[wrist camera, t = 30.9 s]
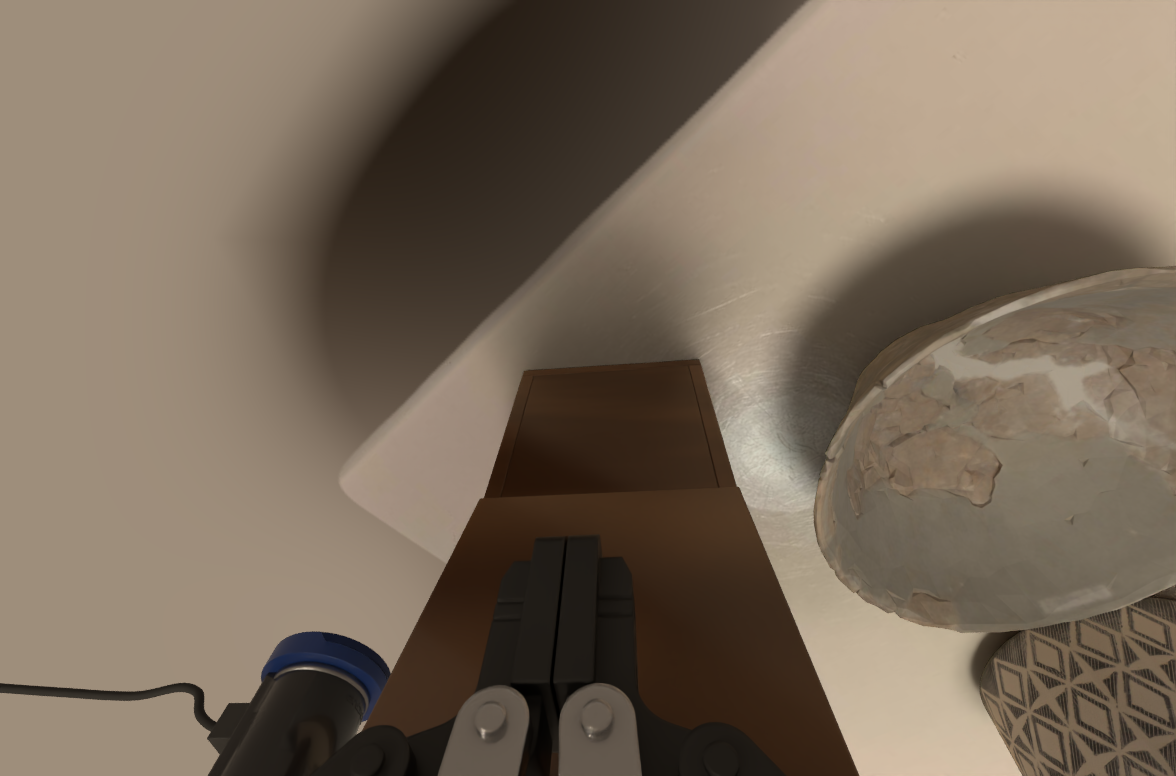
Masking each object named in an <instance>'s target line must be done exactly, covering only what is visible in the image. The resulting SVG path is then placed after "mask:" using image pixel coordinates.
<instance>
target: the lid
mask: <svg viewBox="0 0 1176 776" xmlns="http://www.w3.org/2000/svg"><path fill="white" fill-rule="evenodd" d="M591 534H599V535H600V540H601V548H602V556H603V557H623V559H624V561H625V562H626V564H627V566H628V568H629V570H630V571H631V573H632V580H633V592H634V603H635V614H636V636H637V661H638V686H639V695H640V697H641V699H642V701H643V702H644V704H645V705H646V706H647V707H648V708H649V710H650V711H652V712H653V713H654V714H655V715H657V716H658V717H660V718H661V719H663V720H666V721H668V722H670V723H673V724H676V725H679V726H682V727H685V728H688V729H691V730H693V729H694V728H695V727H697V726H699V725H701V724H704V723H708V722H722V723H726V724H730V725H732V726H734V727H736V728H738V729H739V730H741V731H742V732H744V733H745V734H746V735H747V736H748V737H749V738H750V739H751V740H752V741H753V742H754V743H755V744H756V745H757V746H758V747H759V748H760V749H761V750H762V751H763V752H764V753H765V754H766V755H767V756H768V757H769V758H770V759H771V760H772V761H773V762H774V763H775V764H776V765H777V766H778V767H779V768H780V769H781V771H782V772H783V773H784V774H785V775H786V776H859V774H858V771H857V769H856V767H855V764H854V762H853V759H852V757H851V755H850V752H849V750H848V747H847V745H846V743H845V740H844V738H843V735H842V733H841V731H840V728H839V726H838V723H837V721H836V719H835V716H834V714H833V711H832V709H831V707H830V704H829V702H828V699H827V697H826V695H825V692H824V690H823V687H822V685H821V683H820V680H819V678H818V675H817V673H816V671H815V668H814V666H813V663H812V661H811V659H810V656H809V654H808V651H807V649H806V647H805V644H804V642H803V639H802V637H801V635H800V632H799V630H798V627H797V625H796V623H795V620H794V618H793V615H792V613H791V611H790V608H789V606H788V603H787V601H786V599H785V596H784V594H783V591H782V589H781V587H780V584H779V582H778V579H777V577H776V575H775V572H774V570H773V567H772V565H771V563H770V560H769V558H768V555H767V553H766V551H765V548H764V546H763V543H762V541H761V539H760V536H759V534H758V531H757V529H756V527H755V524H754V522H753V519H752V517H751V515H750V512H749V510H748V507H747V505H746V503H745V500H744V498H743V495H742V493H741V491H740V488H739V487H725V488H703V489H681V490H659V491H637V492H614V493H592V494H570V495H548V496H526V497H503V498H481V499H480V500H479V502H478V504H477V506H476V508H475V510H474V512H473V514H472V516H471V518H470V519H469V521H468V523H467V525H466V527H465V529H464V531H463V533H462V535H461V537H460V539H459V541H458V543H457V545H456V547H455V549H454V551H453V553H452V555H451V557H450V559H449V561H448V563H447V565H446V567H445V569H444V571H443V573H442V575H441V577H440V579H439V580H438V582H437V585H436V586H435V588H434V591H433V592H432V594H431V596H430V598H429V600H428V602H427V604H426V606H425V608H424V610H423V612H422V614H421V616H420V618H419V620H418V622H417V624H416V626H415V628H414V630H413V632H412V634H411V636H410V638H409V639H408V642H407V643H406V645H405V648H404V649H403V652H402V653H401V655H400V657H399V659H398V661H397V663H396V665H395V667H394V669H393V671H392V673H391V675H390V677H389V679H388V681H387V683H386V685H385V687H384V689H383V691H382V693H381V695H380V697H379V699H378V700H377V702H376V704H375V706H374V708H373V710H372V712H371V714H370V716H369V718H368V720H367V722H366V724H365V726H364V728H363V730H365V729H368V728H370V727H373V726H377V725H390V726H394V727H396V728H398V729H400V730H401V731H402V732H403V733H404V735H405V736H406V737H408V736H411V735H414V734H416V733H419V732H422V731H425V730H428V729H430V728H433V727H436V726H438V725H441V724H443V723H445V722H447V721H449V720H450V719H452V718H453V717H454V716H456V715H457V714H458V712H459V710H460V709H461V707H462V706H463V704H464V703H465V702H466V701H467V700H468V699H469V698H470V697H471V696H472V695H473V694H474V692H475V690H476V687H477V684H478V680H479V676H480V671H481V667H482V662H483V658H484V653H485V649H486V645H487V640H488V636H489V631H490V627H491V623H492V621H493V614H494V609H495V605H496V604H497V596H498V592H499V587H500V583H501V579H502V578H503V576H504V575H505V573H506V572H507V570H508V569H509V568H510V566H511V565H512V563H513V562H514V561H528V560H531V558H532V553H533V547H534V542H535V539H536V537H550V536H567V537H568V536H569V535H591ZM363 730H362V731H363ZM558 763H559V753H552V756H551V767H550V776H558Z"/></svg>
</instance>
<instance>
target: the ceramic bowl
mask: <svg viewBox="0 0 1176 776" xmlns="http://www.w3.org/2000/svg"><path fill="white" fill-rule="evenodd" d="M825 454H826V456H827V457H826V460H825V463H824V465H823V467H822V470H821V472H820V478H819V481H818V488H817V493H816V498H815V505H814V526H815V531H816V537H817V542H818V545H819V547H820V549H821V552H822V553H823V555H824V557H825V559H826V560H827V562H828V564H829V566H830V568H832V569H833V570H835V574H836V576H837V577H838V579H839V580H840V581H841V582H842V583H843V584H844V585H845V586H847V587H848V588H849V589H850V590H851V591H852V592H853V593H855V592H856V593H857V594H858V595H859V596H860V597H861V598H862V599H863V600H865V601H866V602H868V603H870V604H873V605H875V606H877V607H879V608H880V609H882V610H884V611H885V612H887V613H891V612H895V613H896V614H897V615H898V616H899V617H900V618H903V619H905V620H908V621H911V622H914V623H916V624H919V625H922V626H929V627H938V628H944V629H950V630H954V631H957V632H961V633H972V632H1007V631H1015V630H1027V629H1033V628H1039V627H1045V626H1049V625H1054V624H1058V623H1063V622H1070V621H1078V620H1082V619H1085V618H1089V617H1092V616H1095V615H1099V614H1102V613H1106V612H1110V611H1114V610H1118V609H1120V608H1123V607H1126V606H1128V605H1131V604H1133V603H1135V602H1138V601H1140V600H1142V599H1145V598H1147V597H1149V596H1151V595H1154V594H1156V593H1158V592H1161V591H1163V590H1165V589H1167V588H1170V587H1172V586H1174V585H1176V266H1169V267H1151V268H1132V269H1120V270H1114V271H1108V272H1104V273H1100V274H1096V275H1092V276H1088V277H1083V278H1079V279H1075V280H1071V281H1066V282H1062V283H1058V284H1053V285H1049V286H1045V287H1040V288H1035V289H1029V290H1024V291H1019V292H1014V293H1011V294H1007V295H1004V296H1001V297H997V298H994V299H992V300H989V301H986V302H984V303H981V304H979V305H976V306H973V307H971V308H969V309H967V310H964V311H962V312H960V313H958V314H956V315H954V316H952V317H950V318H947V319H945V320H942V321H938V322H935V323H931V324H928V325H925V326H921V327H919V328H917V329H915V330H913V331H911V332H910V333H908V334H906V335H904V336H902V337H901V338H899V339H897V340H895V341H894V342H893V343H892V344H890V345H889V346H888V347H886V348H885V349H884V350H883V351H881V352H880V353H879V354H878V355H877V357H876V358H875V359H874V360H873V361H872V362H871V363H870V364H869V365H868V366H867V367H866V368H865V369H864V370H863V371H862V373H861V374H860V376H859V379H858V381H857V384H856V387H855V391H854V394H853V397H852V400H851V403H850V407H849V409H848V410H847V413H846V415H845V417H844V418H843V419H842V421H841V423H840V425H839V427H838V429H837V431H836V432H835V434H834V436H833V438H832V440H831V442H830V444H829V446H828V448H827V450H826V453H825Z"/></svg>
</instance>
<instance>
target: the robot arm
mask: <svg viewBox="0 0 1176 776" xmlns="http://www.w3.org/2000/svg"><path fill="white" fill-rule="evenodd" d="M174 692H186V693H190V694H192V695H193V696H194V700H195V703H194V714H195V717H196V719H197V721H198V722H199V723H200V724H201V725H202V726H203V727H205V728H206V729H207V730H209V731H211V733H210V734H209V736H208V738H207V739H208V740H209V741H210V743H211V744H212V745H213V746H214V747H215V749H216V750H217V751H218V753H219V754H220V755H219V757H218V759H217V761H216V762H215V764H214V766H213V768H212V769H211V771H210V773H209V774H208V776H550V767H551V756H552V753H559V763H558V776H786V775H785V774H784V773H783V772H782V771H781V769H780V768H779V767H778V766H777V765H776V764H775V763H774V762H773V761H772V760H771V759H770V758H769V757H768V756H767V755H766V754H765V753H764V752H763V751H762V750H761V749H760V748H759V747H758V746H757V745H756V744H755V743H754V742H753V741H752V740H751V739H750V738H749V737H748V736H747V735H746V734H745V733H744V732H742V731H741V730H739V729H738V728H736V727H734V726H732V725H730V724H726V723H722V722H708V723H704V724H701V725H699V726H697V727H695V728H694V729H693V730H691V729H688V728H685V727H682V726H679V725H676V724H673V723H670V722H668V721H666V720H663V719H661V718H660V717H658V716H657V715H655V714H654V713H653V712H652V711H650V710H649V708H648V707H647V706H646V705H645V704H644V702H643V701H642V699H641V697H640V695H639V686H638V661H637V636H636V614H635V603H634V592H633V580H632V573H631V571H630V570H629V568H628V566H627V564H626V562H625V561H624V559H623V557H603V556H602V548H601V540H600V535H599V534H591V535H569V536H568V537H567V536H550V537H536V539H535V542H534V547H533V553H532V558H531V560H528V561H514V562H513V563H512V565H511V566H510V568H509V569H508V570H507V572H506V573H505V575H504V576H503V578H502V579H501V583H500V587H499V592H498V596H497V604H496V605H495V609H494V614H493V621H492V623H491V627H490V631H489V636H488V640H487V645H486V649H485V653H484V658H483V662H482V667H481V671H480V676H479V680H478V684H477V687H476V690H475V692H474V694H473V695H472V696H471V697H470V698H469V699H468V700H467V701H466V702H465V703H464V704H463V706H462V707H461V709H460V710H459V712H458V714H457V715H456V716H454V717H453V718H452V719H450V720H449V721H447V722H445V723H443V724H441V725H438V726H436V727H433V728H430V729H428V730H425V731H422V732H419V733H416V734H414V735H411V736H408V737H406V736H405V735H404V733H403V732H402V731H401V730H400V729H398V728H396V727H394V726H390V725H377V726H373V727H370V728H368V729H365V730H363V731H361V732H360V733H358V734H357V735H356V733H357V731H358V728H359V726H360V724H361V722H362V720H363V716H364V715H365V713H366V711H367V709H368V706H369V703H370V694H369V692H368V690H367V688H366V686H365V685H364V684H363V683H362V682H361V681H360V680H359V679H358V678H356V677H355V676H354V675H352V674H350V673H349V672H347V671H345V670H343V669H340V668H338V667H335V666H332V665H328V664H324V663H318V662H297V663H292V664H289V665H286V666H284V667H282V668H281V669H280V670H279V671H278V672H269V673H267V675H266V677H265V679H264V680H263V682H262V684H261V686H260V687H259V689H258V690H257V692H256V694H255V696H254V697H253V699H252V701H251V702H250V703H229V704H228V705H227V707H226V709H225V710H224V712H223V714H222V715H221V717H220V718H219V720H218V721H217V722H215V721H213V720H212V719H211V718H210V717H209V716H208V715H207V714H206V712H205V710H204V692H203V690H202V689H201V688H199V687H198V686H196V685H193V684H190V683H178V684H172V685H167V686H163V687H160V688H155V689H151V690H146V691H137V692H122V691H120V692H119V691H100V690H86V689H73V688H57V687H43V686H29V685H14V684H2V683H0V693H12V694H26V695H39V696H56V697H69V698H83V699H97V700H119V701H122V700H123V701H130V700H141V699H148V698H152V697H156V696H160V695H164V694H169V693H174Z"/></svg>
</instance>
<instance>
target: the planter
mask: <svg viewBox="0 0 1176 776" xmlns="http://www.w3.org/2000/svg"><path fill="white" fill-rule="evenodd" d="M980 695H981V699H982V702H983V704H984V706H985V708H986V710H987V712H988V714H989V715H990V717H991V719H992V721H993V723H994V724H995V726H996V728H997V730H998V732H999V734H1000V735H1001V737H1002V739H1003V741H1004V743H1005V744H1006V746H1007V748H1008V750H1009V752H1010V754H1011V755H1012V757H1013V759H1014V761H1015V763H1016V764H1017V766H1018V768H1019V770H1020V772H1021V773H1022V775H1023V776H1176V601H1174V600H1168V599H1161V598H1149V597H1147V598H1145V599H1142V600H1140V601H1138V602H1135V603H1133V604H1131V605H1128V606H1126V607H1123V608H1120V609H1118V610H1114V611H1110V612H1106V613H1102V614H1099V615H1095V616H1092V617H1089V618H1085V619H1082V620H1078V621H1070V622H1063V623H1058V624H1054V625H1049V626H1045V627H1039V628H1033V629H1027V630H1022V631H1020V632H1019V633H1017V634H1016V635H1015V636H1013V637H1012V638H1010V639H1009V640H1008V641H1007V642H1005V643H1004V644H1003V645H1002V646H1001V647H1000V648H999V649H998V650H997V651H996V652H995V653H994V654H993V656H992V657H991V658H990V660H989V661H988V663H987V664H986V666H985V668H984V671H983V673H982V676H981V680H980Z"/></svg>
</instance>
